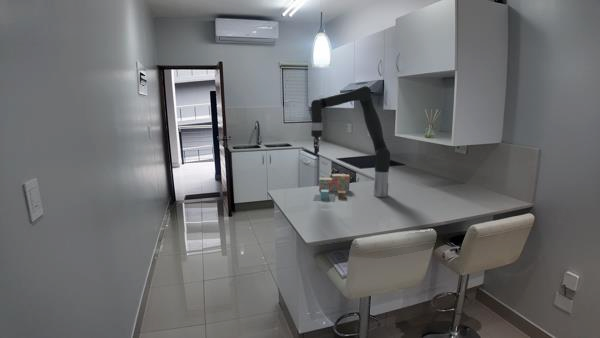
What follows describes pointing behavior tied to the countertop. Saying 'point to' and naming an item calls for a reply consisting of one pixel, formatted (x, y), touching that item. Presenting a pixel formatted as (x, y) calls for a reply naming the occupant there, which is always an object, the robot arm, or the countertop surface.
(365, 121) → the robot arm
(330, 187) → the stack of blocks
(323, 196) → the teal cube
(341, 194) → the walnut cube
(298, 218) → the countertop surface
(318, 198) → the build mat
